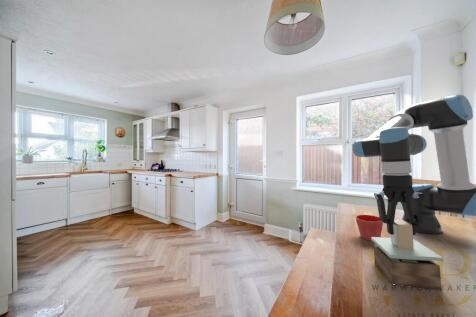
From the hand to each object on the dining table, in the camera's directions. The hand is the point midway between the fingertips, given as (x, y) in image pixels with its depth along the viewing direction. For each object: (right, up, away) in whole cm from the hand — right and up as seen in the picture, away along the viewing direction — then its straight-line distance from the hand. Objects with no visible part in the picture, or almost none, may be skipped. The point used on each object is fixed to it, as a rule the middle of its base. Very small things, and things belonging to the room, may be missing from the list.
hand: (402, 243), depth 61 cm
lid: (0, -2, 0) cm, 2 cm away
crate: (0, -10, 0) cm, 10 cm away
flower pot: (+10, -10, +28) cm, 32 cm away
